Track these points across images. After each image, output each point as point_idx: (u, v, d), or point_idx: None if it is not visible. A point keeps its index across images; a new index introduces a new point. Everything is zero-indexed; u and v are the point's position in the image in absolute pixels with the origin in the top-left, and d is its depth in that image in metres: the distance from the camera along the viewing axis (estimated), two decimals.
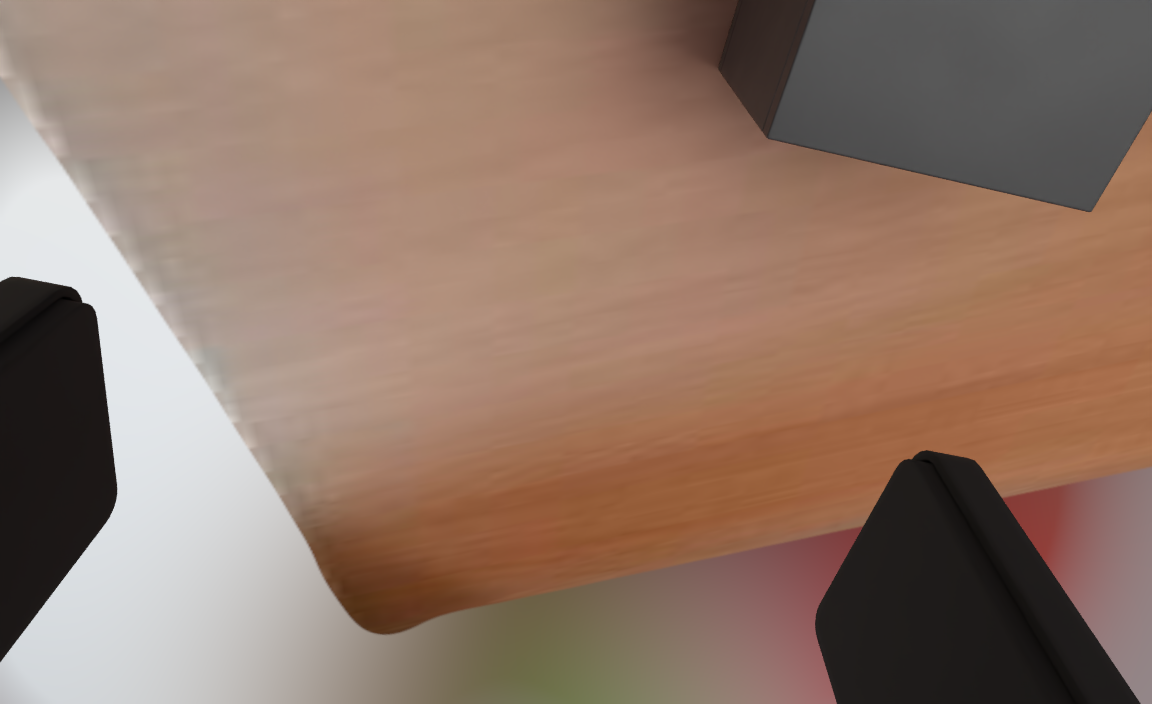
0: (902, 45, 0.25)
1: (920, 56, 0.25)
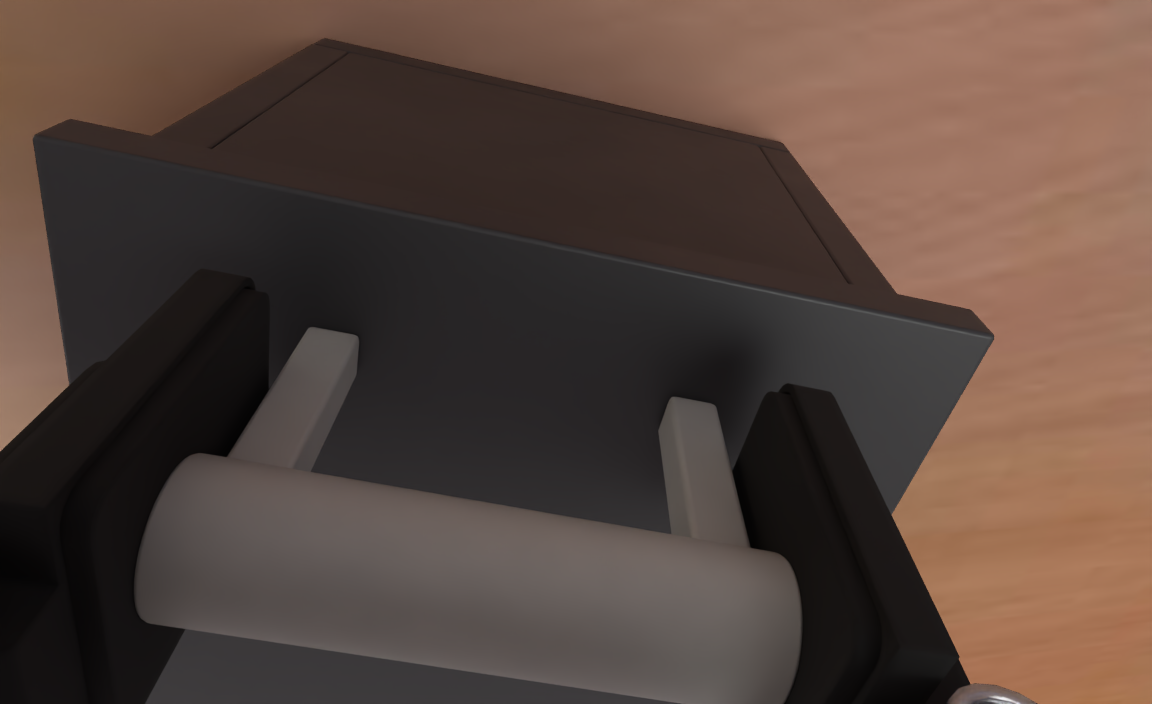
0: None
1: None
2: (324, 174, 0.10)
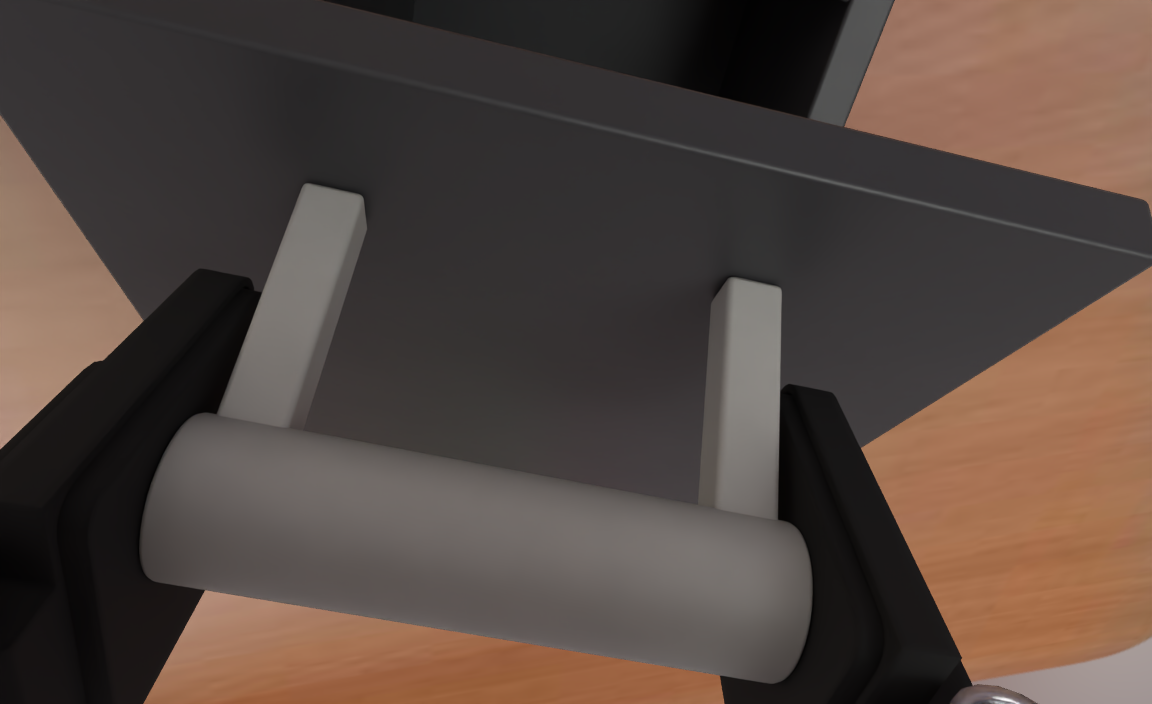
0: None
1: None
2: None
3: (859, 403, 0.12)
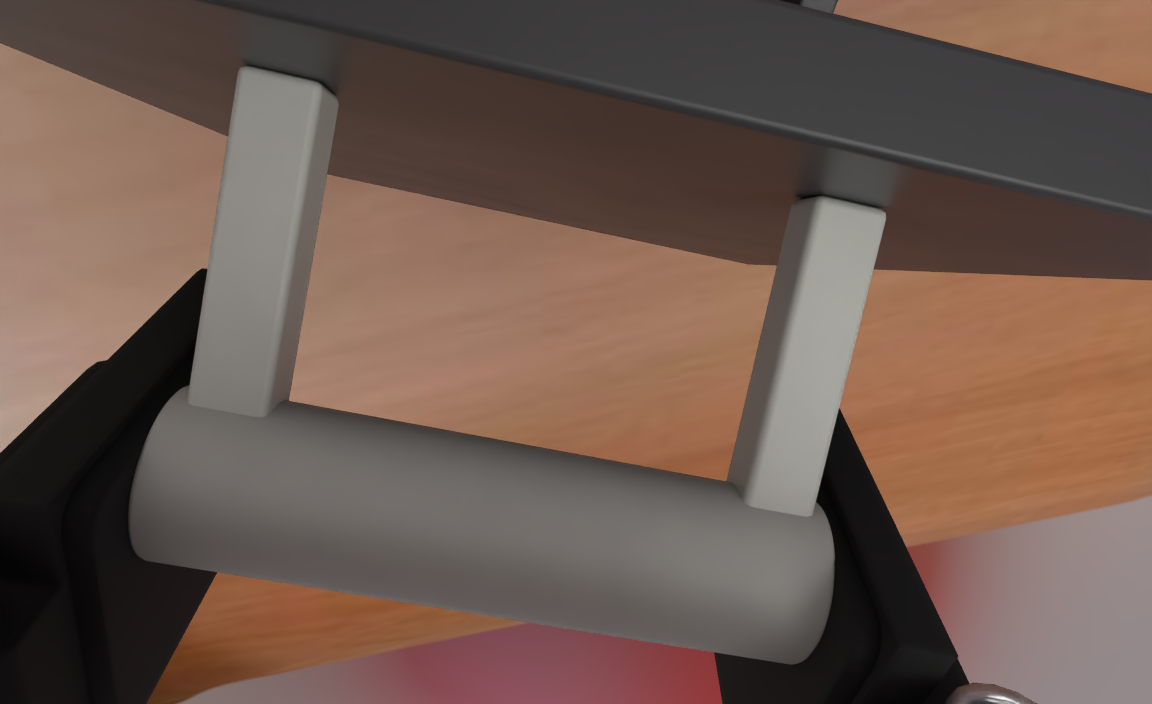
0: (412, 183, 0.17)
1: (445, 191, 0.17)
2: None
3: (966, 261, 0.10)
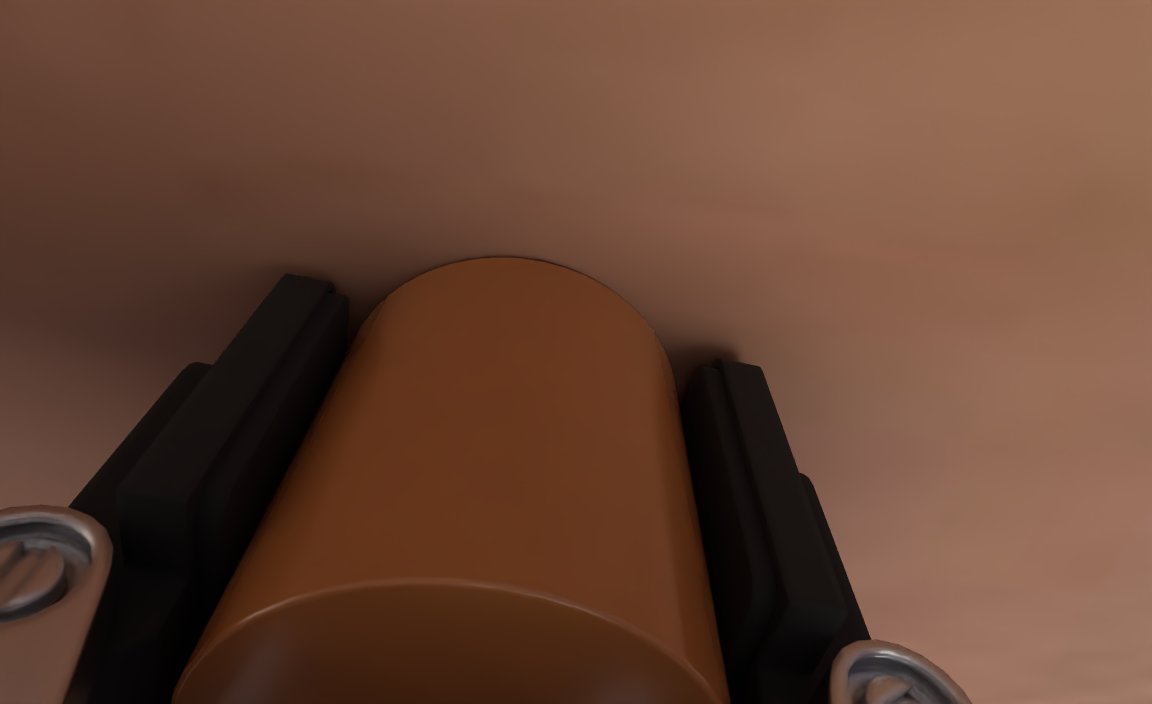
0: None
1: None
2: None
3: None
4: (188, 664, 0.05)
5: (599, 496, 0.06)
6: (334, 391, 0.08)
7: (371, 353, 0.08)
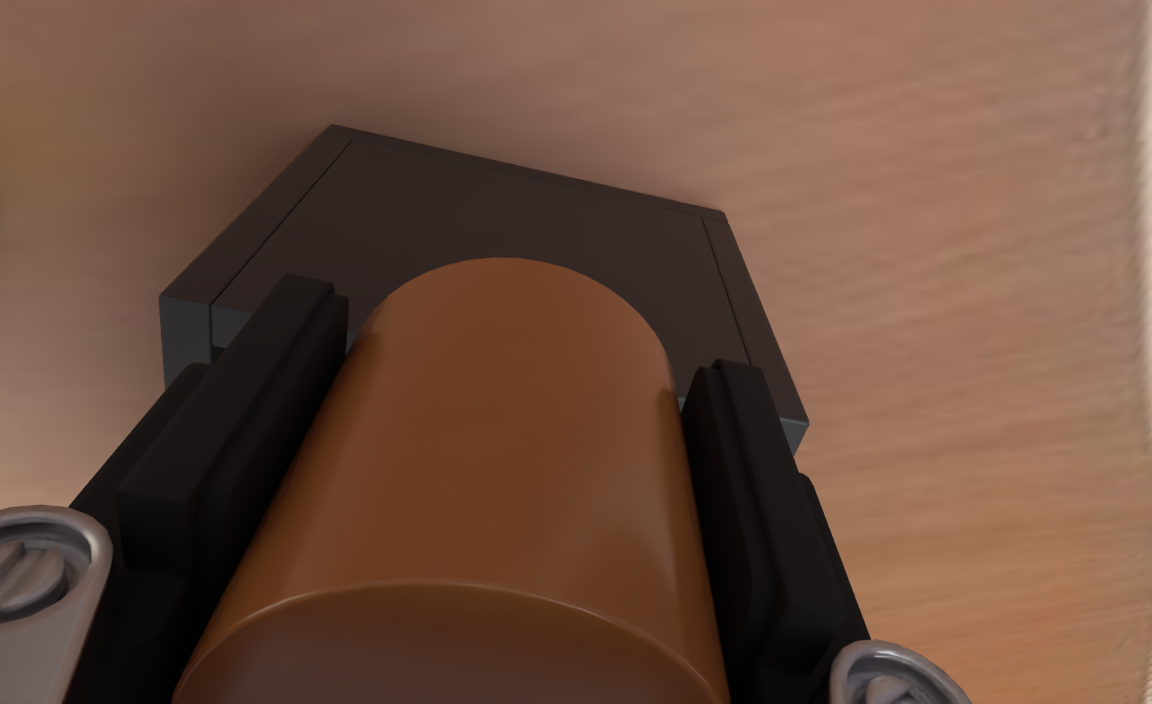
0: None
1: None
2: None
3: None
4: (188, 665, 0.05)
5: (599, 496, 0.06)
6: (334, 391, 0.08)
7: (371, 353, 0.08)
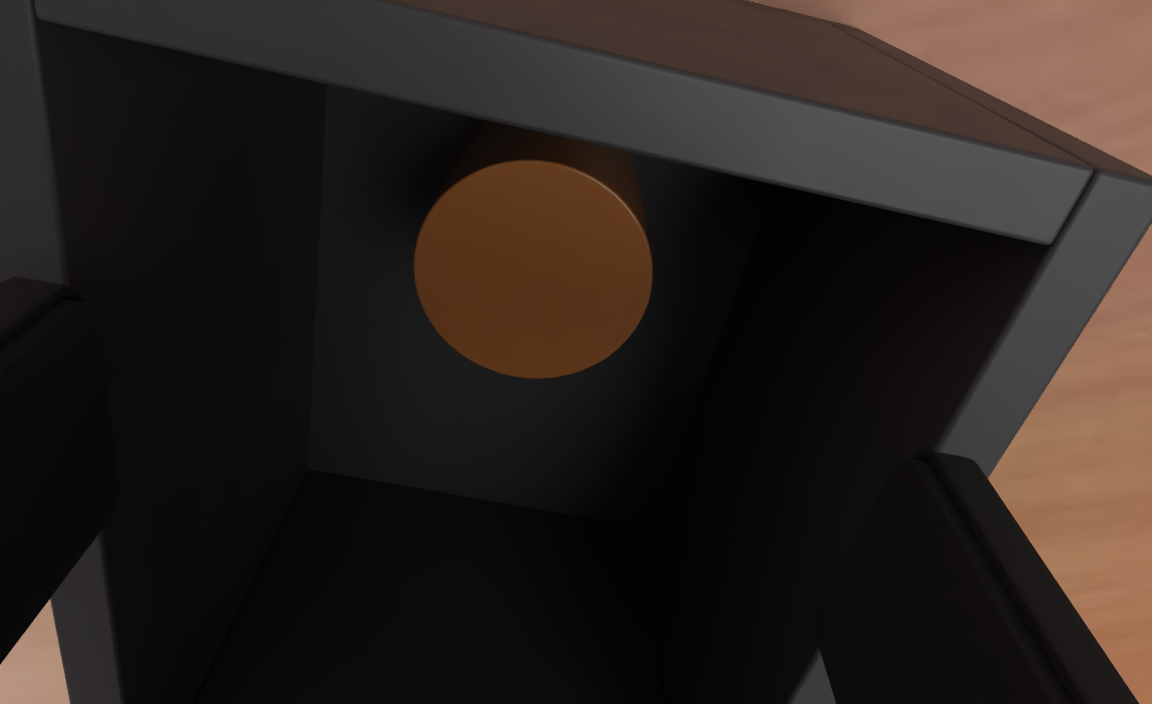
0: None
1: None
2: None
3: None
4: (429, 210, 0.13)
5: (594, 157, 0.14)
6: (465, 146, 0.16)
7: (482, 129, 0.16)
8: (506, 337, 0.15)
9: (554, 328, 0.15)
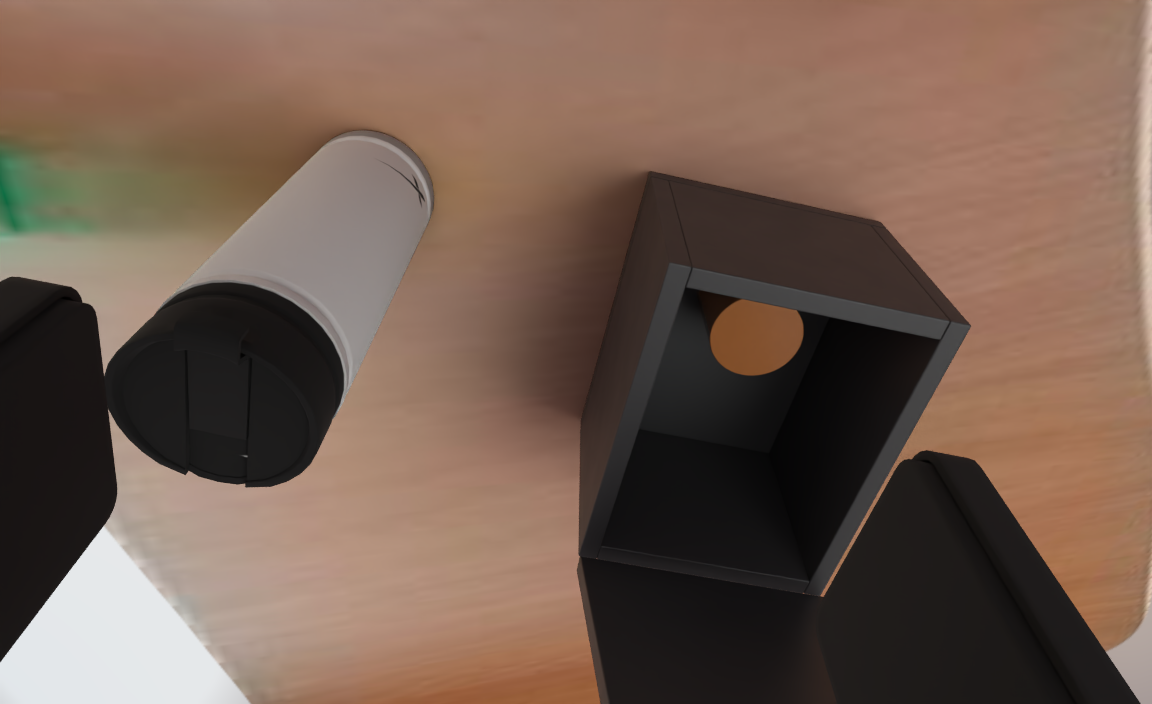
0: None
1: None
2: None
3: None
4: (721, 312, 0.36)
5: None
6: None
7: None
8: (742, 359, 0.37)
9: (762, 355, 0.37)
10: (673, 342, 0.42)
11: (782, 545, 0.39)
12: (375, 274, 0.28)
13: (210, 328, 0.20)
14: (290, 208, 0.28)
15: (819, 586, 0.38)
